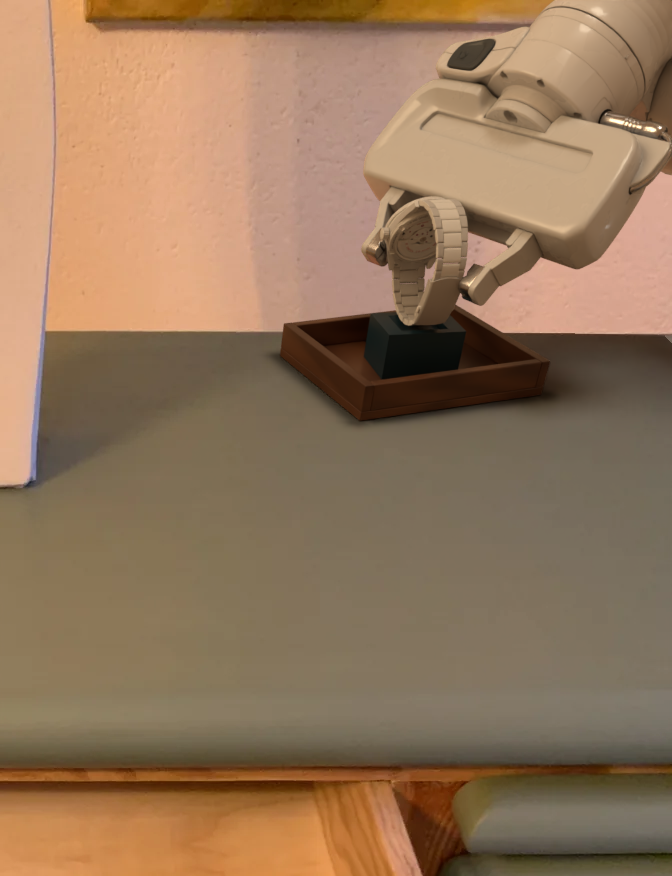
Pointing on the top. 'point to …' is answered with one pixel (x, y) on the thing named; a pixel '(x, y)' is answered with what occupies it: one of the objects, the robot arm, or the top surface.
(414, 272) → the watch
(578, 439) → the top surface
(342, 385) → the tray
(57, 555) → the top surface
